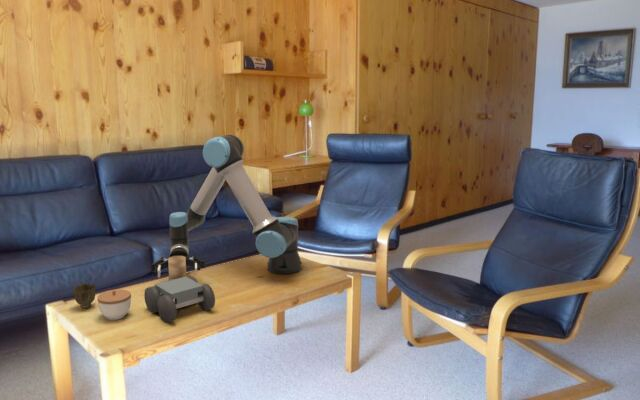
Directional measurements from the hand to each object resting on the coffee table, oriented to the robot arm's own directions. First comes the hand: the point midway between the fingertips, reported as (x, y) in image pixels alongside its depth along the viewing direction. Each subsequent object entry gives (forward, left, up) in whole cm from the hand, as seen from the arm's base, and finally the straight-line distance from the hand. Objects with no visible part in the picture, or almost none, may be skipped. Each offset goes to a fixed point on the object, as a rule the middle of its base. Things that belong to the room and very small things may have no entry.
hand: (177, 272), depth 198 cm
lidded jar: (+25, +2, -9) cm, 27 cm away
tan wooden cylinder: (-1, -3, -9) cm, 10 cm away
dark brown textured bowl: (+30, -12, -9) cm, 34 cm away
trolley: (+6, +12, -9) cm, 16 cm away
